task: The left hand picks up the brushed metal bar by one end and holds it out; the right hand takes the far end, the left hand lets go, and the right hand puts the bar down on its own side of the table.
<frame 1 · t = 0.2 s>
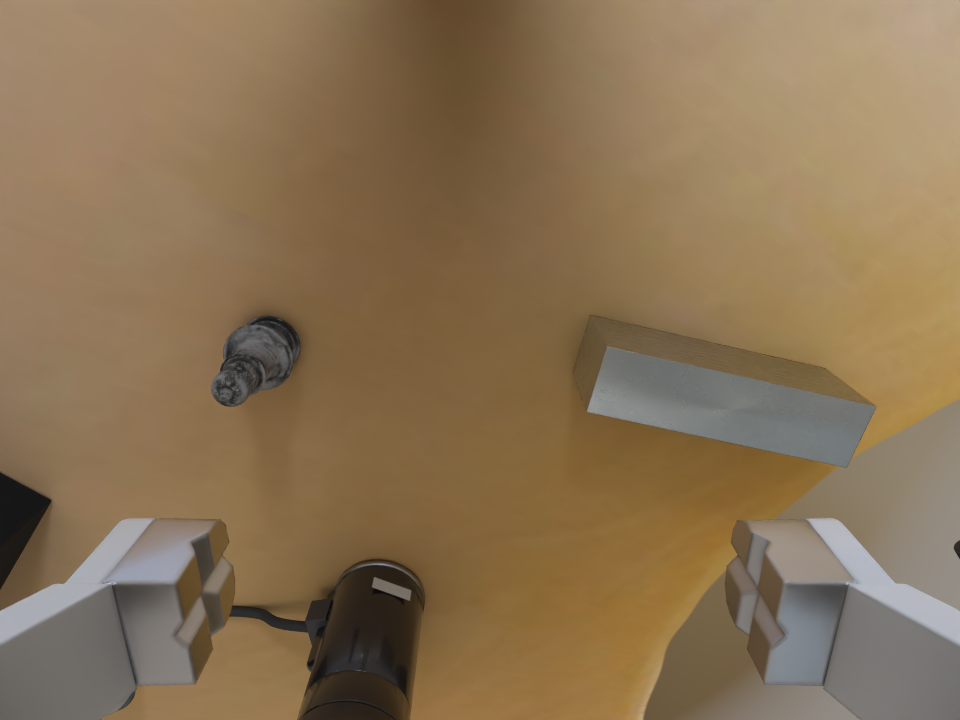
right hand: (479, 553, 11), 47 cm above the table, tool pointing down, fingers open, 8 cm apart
bar: (699, 370, 60), on the table
salt shaker: (271, 343, 59), on the table
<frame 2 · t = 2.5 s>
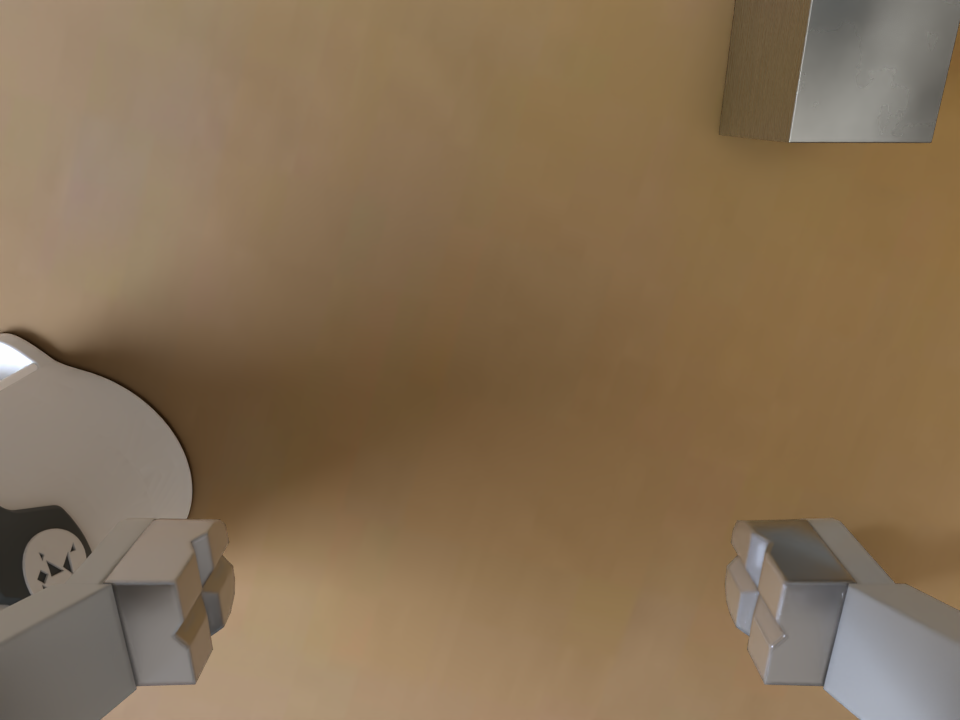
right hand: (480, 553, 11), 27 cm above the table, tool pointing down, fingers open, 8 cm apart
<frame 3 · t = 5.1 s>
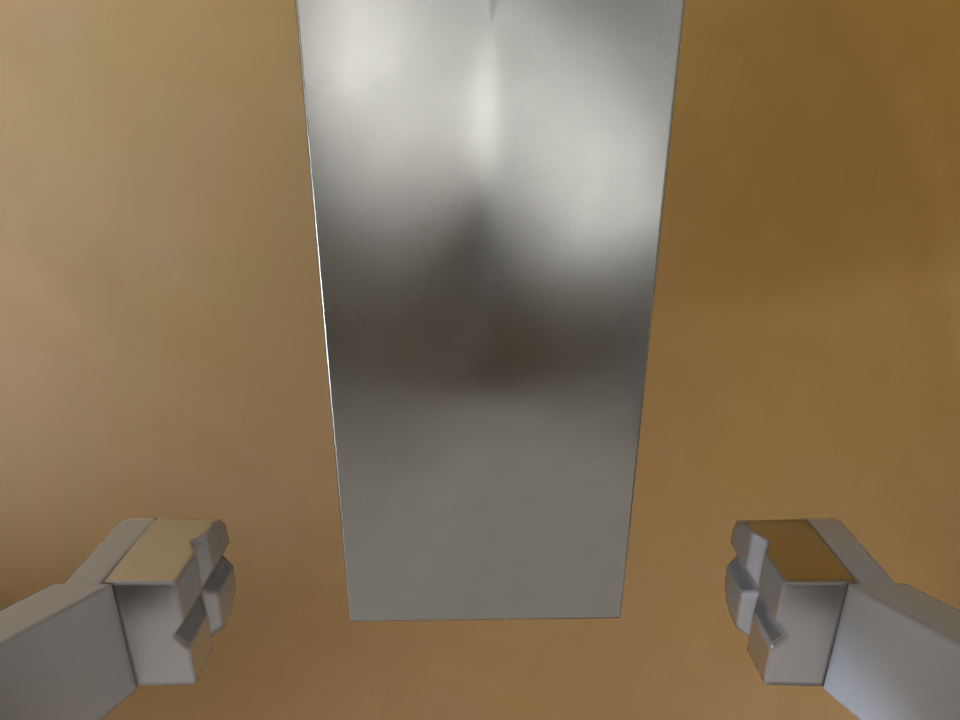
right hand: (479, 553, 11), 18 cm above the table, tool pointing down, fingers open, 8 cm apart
bar: (479, 59, 18), point 8 cm above the table, touching left hand
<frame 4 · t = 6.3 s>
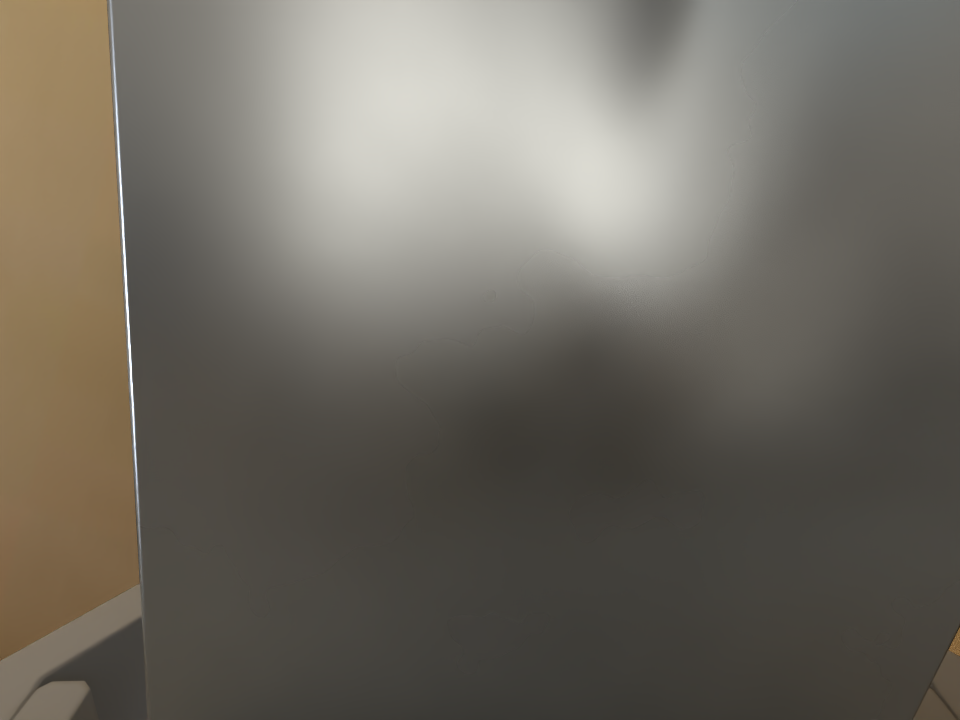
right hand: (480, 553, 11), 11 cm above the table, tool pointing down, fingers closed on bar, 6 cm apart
bar: (550, 23, 11), point 8 cm above the table, touching right hand, left hand
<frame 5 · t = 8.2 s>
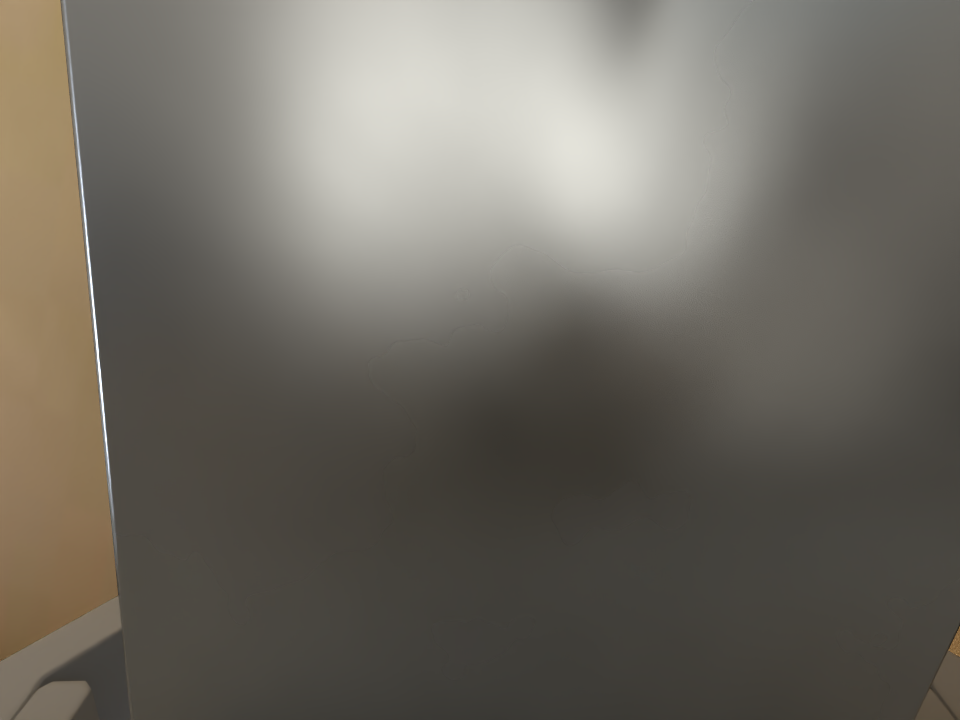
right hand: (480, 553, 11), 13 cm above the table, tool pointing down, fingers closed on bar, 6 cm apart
bar: (542, 18, 11), point 10 cm above the table, touching right hand
when the right hand's fingers open (5 cm above the table, at t = 13.2 s): bar stays where it is, on the table.
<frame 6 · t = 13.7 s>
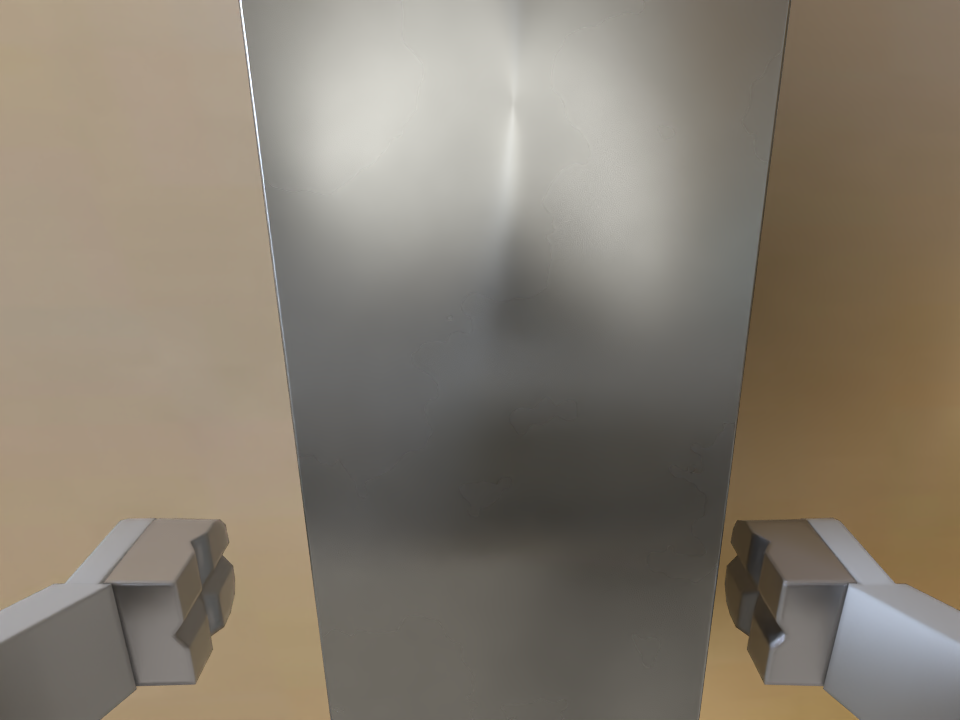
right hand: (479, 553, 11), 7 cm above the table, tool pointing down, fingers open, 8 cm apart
bar: (501, 110, 15), on the table
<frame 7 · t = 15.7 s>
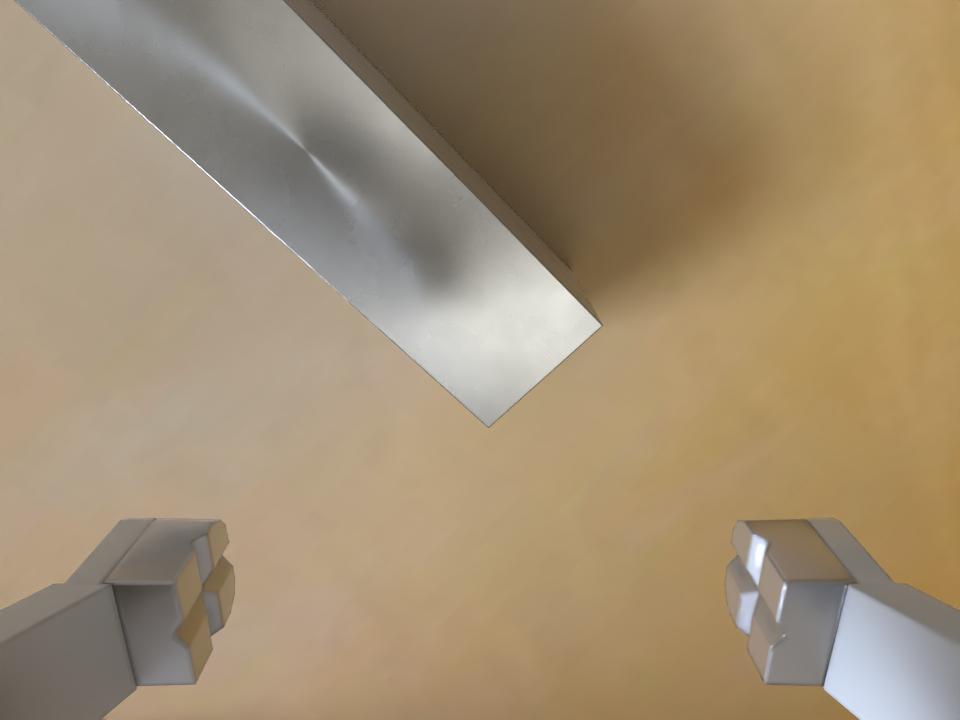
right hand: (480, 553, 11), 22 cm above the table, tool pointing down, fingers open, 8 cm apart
bar: (352, 139, 29), on the table
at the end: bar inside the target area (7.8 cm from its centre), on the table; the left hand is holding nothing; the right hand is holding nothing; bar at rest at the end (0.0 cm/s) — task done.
